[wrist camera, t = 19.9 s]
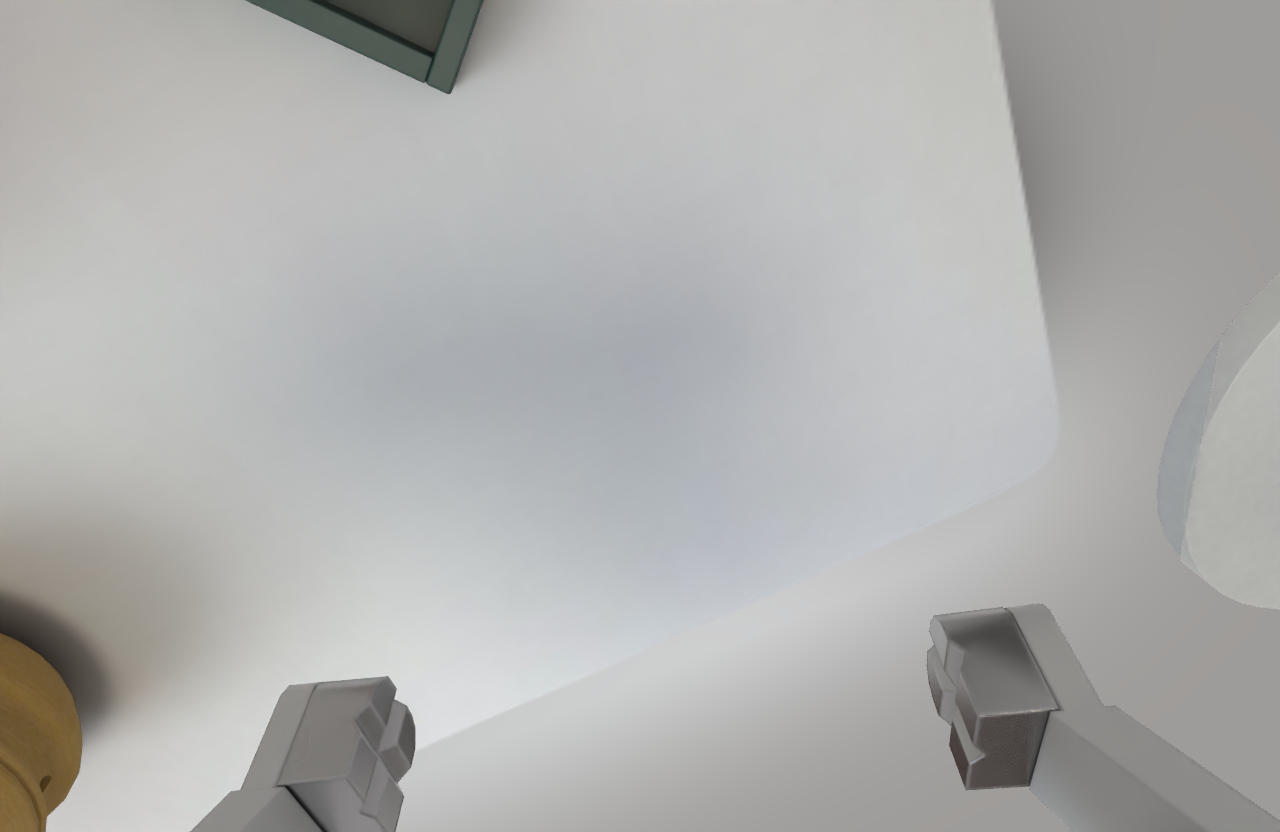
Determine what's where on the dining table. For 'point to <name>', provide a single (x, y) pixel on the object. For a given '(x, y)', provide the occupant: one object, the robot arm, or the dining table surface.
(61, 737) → the pot
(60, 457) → the dining table surface
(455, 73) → the dark green tray
